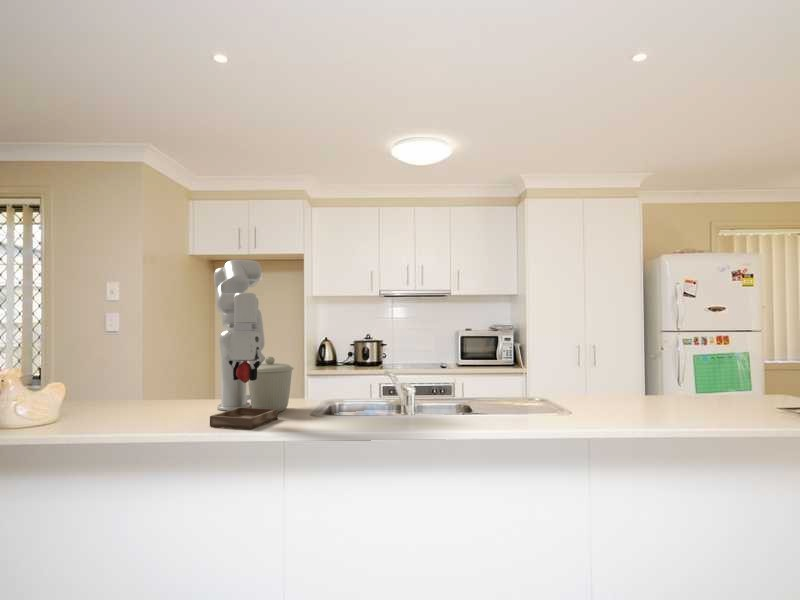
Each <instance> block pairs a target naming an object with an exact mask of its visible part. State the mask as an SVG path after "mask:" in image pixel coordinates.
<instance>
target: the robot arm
mask: <svg viewBox="0 0 800 600" xmlns="http://www.w3.org/2000/svg"><path fill="white" fill-rule="evenodd" d="M261 278H262V267H261V264H260V263H259V262H258V261H256V260H250V259H249V260H248V259H231V260H228V261H227V262H226V263H225V264H224V266H223V267H219V268H216V269H215V271H214V272H213V284H214V287H215V301H216V308H217V310H218V312H220V314H221V323H222V326H223V327H224V328H225V329H227V330H224V331H222V332H221V333H220V334H219V338H218V339H219V340H218V341H219V349H220V359H221V376H220V377H221V378H220V379H221V380H220V381H221V384H220V385H221V394H220V395H221V397H220V398H221V401H220V402H221V403H220V404H217V406H216V408H217V410H219V411H229V410H232V409H235V408H238V407H246V408H251V402H248V401H249V400H250V394H247V383H244V382H242V381H241V380H239V379H238V378H237V376H236V370H237V368H238V366H239V365H240V364H241V363H242V362H243V361H247V362H248V363H249V364H250V366H251V369H250V381H253V380H256V379H257V368H259V366H260V365H261V364H263V362H264V361H265V359H266V357H265V355H264V354H263V353H262V351H263V349H264V348H265V333H264V331H265V330H264V323H263V316H262V312H261V310H260V309H259V303H260V302H259V298H257V295H256V294H255V293H253V292H246V291H248V289H249V288H253V287H255V286H256V285H257V284H258V283H259V281H260V279H261Z"/></svg>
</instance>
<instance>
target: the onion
mask: <svg viewBox="0 0 800 600" xmlns="http://www.w3.org/2000/svg"><path fill="white" fill-rule="evenodd" d="M250 369H251V366H250V362H248V361H243V362H242V363H241V364H240V365H239V366H238V368H237V370H236V376H237V378H238V379H239V380H241V381H242V382H244V383H246V384H247V383H248V381H249V380H250Z"/></svg>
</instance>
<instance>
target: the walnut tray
mask: <svg viewBox="0 0 800 600" xmlns="http://www.w3.org/2000/svg"><path fill="white" fill-rule="evenodd" d="M278 419H279V412H278V409H265V408H252V407H248V408H246V407H238V408H235V409H232V410H224V411H222V412H219V413H215V414H213V415H212V414H211V415H209V427H210V426H211V427H210V428H221V427H224V428H225V429H236V430H237V429H239V430H254V429H256V428H260V427H261V426H264V425H267V424H268V423H271V422H274V421H276V420H278ZM224 428H223V429H224Z"/></svg>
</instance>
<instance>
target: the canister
mask: <svg viewBox="0 0 800 600" xmlns="http://www.w3.org/2000/svg"><path fill="white" fill-rule="evenodd" d="M275 360H276V359H275V357H274V356H267V357H265V360H264V361H265V363H261V365H260V366H259V368H257V379H256V380H253V381H250V380H249V381H248V382H247V383H248V391H249V395H250V399H249V400H250V407H251V408H265V409H278V413H281V412H283V411H285V410H287V407H288V405H289V400H290V399H289V398H290V393H291V385H292V383H291V382H292V374H293V373H292V372H293V370H294V369H295V368H294V366H293V367H292V366H291V365H290V364H287V363H275Z"/></svg>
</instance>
